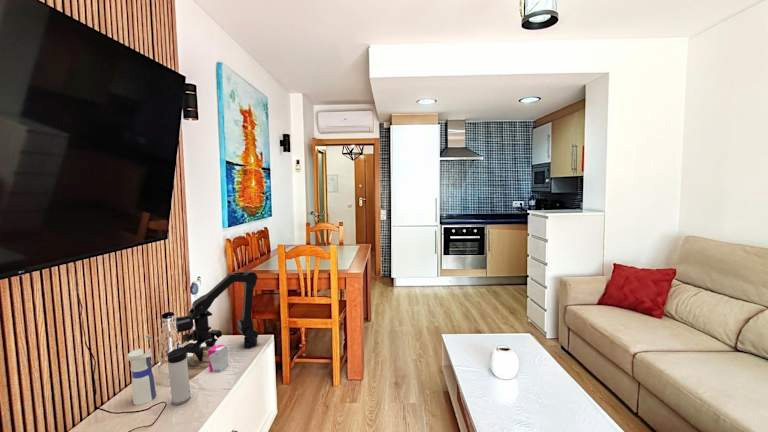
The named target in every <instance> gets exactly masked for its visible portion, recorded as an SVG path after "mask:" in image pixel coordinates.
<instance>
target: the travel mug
mask: <svg viewBox="0 0 768 432" xmlns="http://www.w3.org/2000/svg"><path fill="white" fill-rule="evenodd" d="M187 361H188V357H187V353H186V347H184V346H181V347H179V348H175V349H173V350H170V351H169V352H168V353H167V365H168V373H169V378H168V379H169V385H170V387H169V388H170V394H171V395H170V396H171V404H173V405H175V406H180V405H183V404H185V403H187V402H189V400H190V399H191V398H192V397H191V389H190V388H191V387H190V380H189V376H188V366H187Z"/></svg>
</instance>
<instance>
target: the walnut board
mask: <svg viewBox="0 0 768 432" xmlns="http://www.w3.org/2000/svg"><path fill="white" fill-rule="evenodd" d="M187 366H188V376H189V381H191V380H192V379H193V378H195V377H197V376H198V375H199V374H201V373H202V372H204V371H205V370H207V369H208V368H209V363H206V362H196V361H194V357H192V358H191V359H189V360H187Z"/></svg>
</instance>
